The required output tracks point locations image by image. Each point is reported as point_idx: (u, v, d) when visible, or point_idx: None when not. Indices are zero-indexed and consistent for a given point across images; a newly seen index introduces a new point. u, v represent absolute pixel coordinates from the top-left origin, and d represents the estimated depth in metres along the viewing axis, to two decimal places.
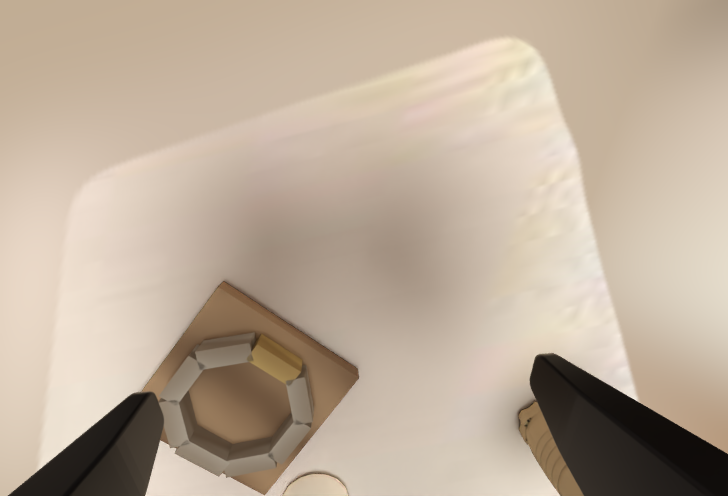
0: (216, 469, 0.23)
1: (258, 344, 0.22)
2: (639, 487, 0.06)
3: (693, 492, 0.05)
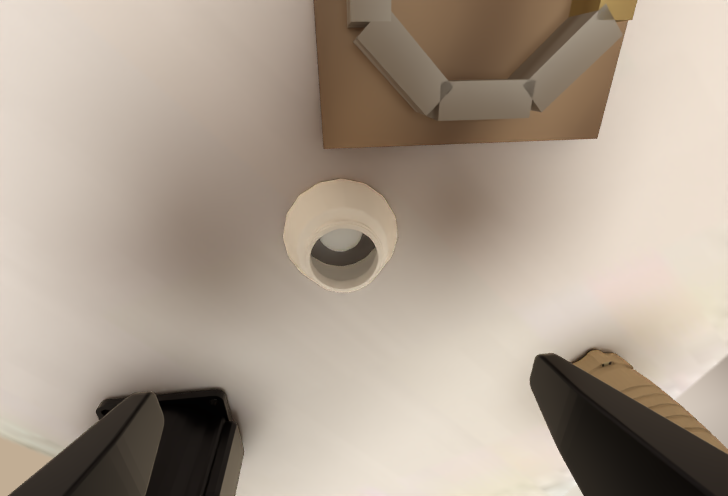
0: (362, 5, 0.10)
1: None
2: (640, 487, 0.06)
3: (693, 492, 0.05)
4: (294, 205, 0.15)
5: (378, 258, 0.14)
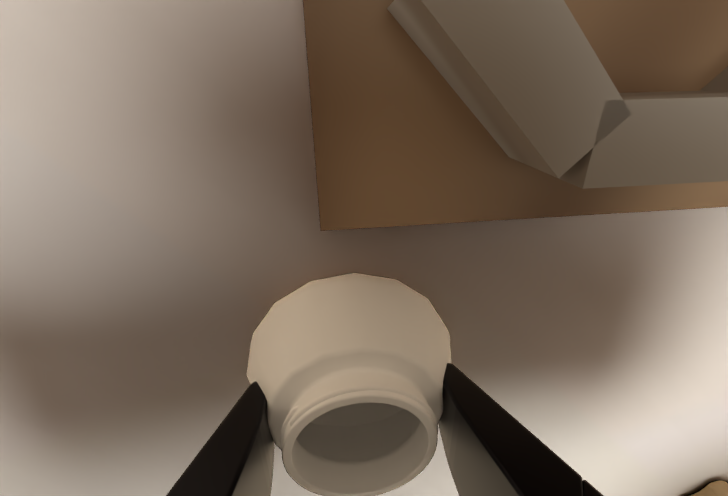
0: None
1: None
2: None
3: None
4: (265, 325, 0.08)
5: (428, 443, 0.07)
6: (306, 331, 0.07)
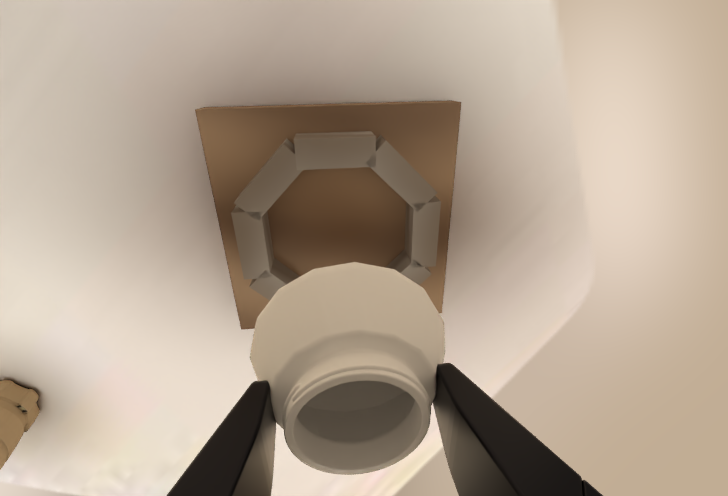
0: (304, 148, 0.14)
1: None
2: None
3: None
4: (269, 309, 0.08)
5: (422, 422, 0.08)
6: (308, 315, 0.08)
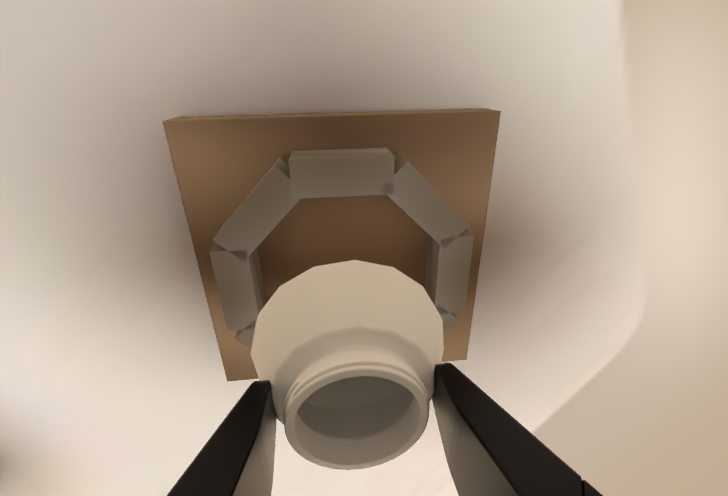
0: (302, 171, 0.11)
1: None
2: None
3: None
4: (270, 306, 0.08)
5: (420, 417, 0.08)
6: (309, 311, 0.08)
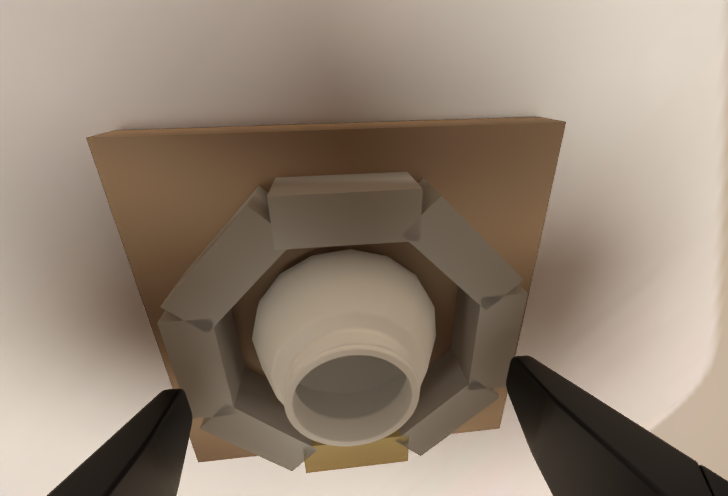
0: (288, 212, 0.07)
1: None
2: (606, 491, 0.06)
3: None
4: (270, 293, 0.09)
5: (412, 396, 0.08)
6: (307, 296, 0.08)
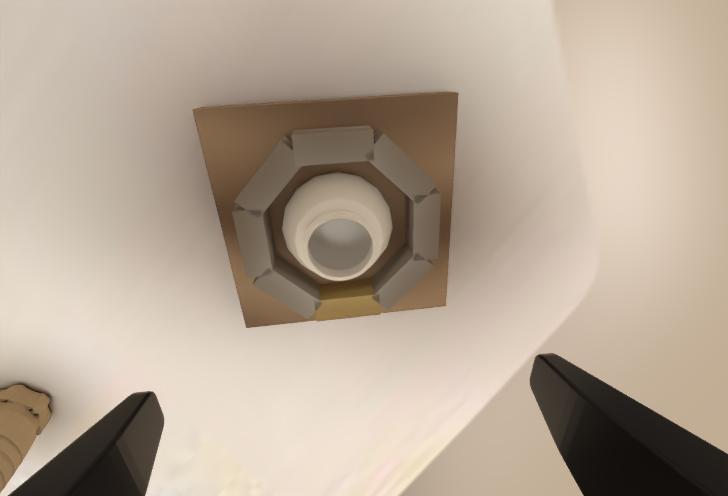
0: (302, 144, 0.14)
1: (378, 312, 0.18)
2: (639, 487, 0.06)
3: (693, 492, 0.05)
4: (292, 198, 0.16)
5: (373, 247, 0.15)
6: (313, 195, 0.15)
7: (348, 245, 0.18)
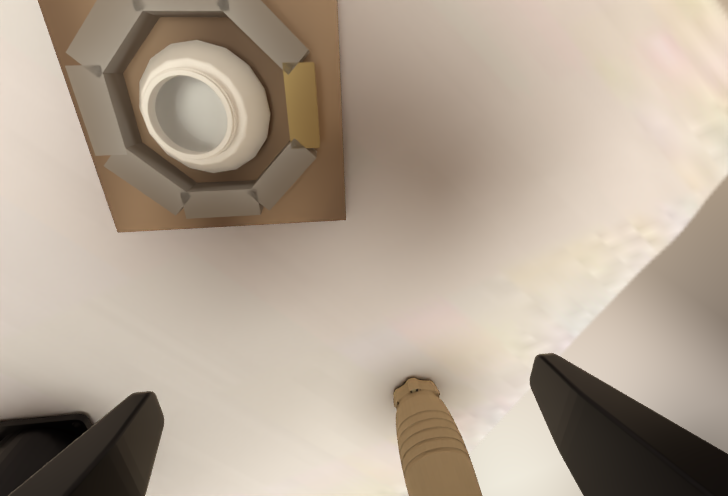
0: (101, 145, 0.14)
1: (313, 64, 0.14)
2: (640, 487, 0.06)
3: (693, 492, 0.05)
4: None
5: (181, 74, 0.12)
6: None
7: None
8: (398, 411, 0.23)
